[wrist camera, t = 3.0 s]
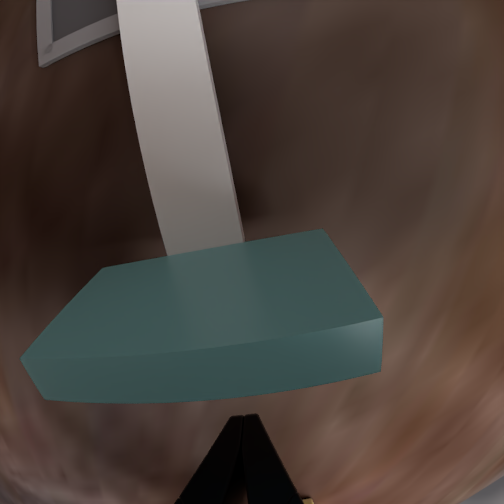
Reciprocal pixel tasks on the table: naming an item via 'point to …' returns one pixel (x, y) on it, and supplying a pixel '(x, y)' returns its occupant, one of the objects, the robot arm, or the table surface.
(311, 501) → the candy box
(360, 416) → the table surface
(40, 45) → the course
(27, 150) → the table surface
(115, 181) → the table surface
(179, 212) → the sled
